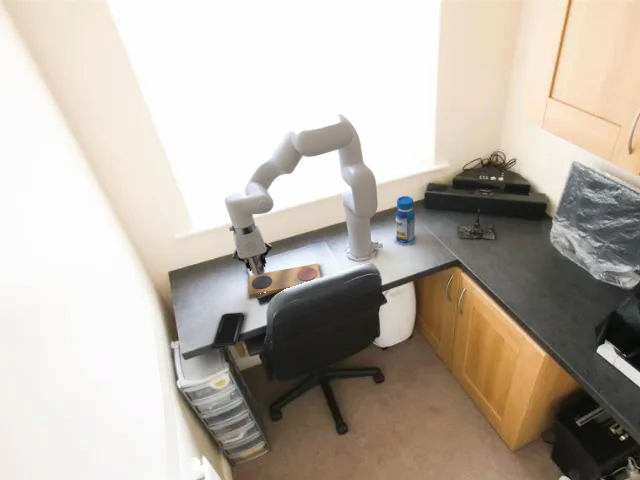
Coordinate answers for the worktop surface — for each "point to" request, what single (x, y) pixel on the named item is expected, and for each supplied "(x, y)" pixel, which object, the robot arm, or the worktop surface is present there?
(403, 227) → the beverage bottle
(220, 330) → the phone
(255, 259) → the beer can
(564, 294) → the worktop surface
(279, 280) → the board
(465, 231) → the eiffel tower figurine
